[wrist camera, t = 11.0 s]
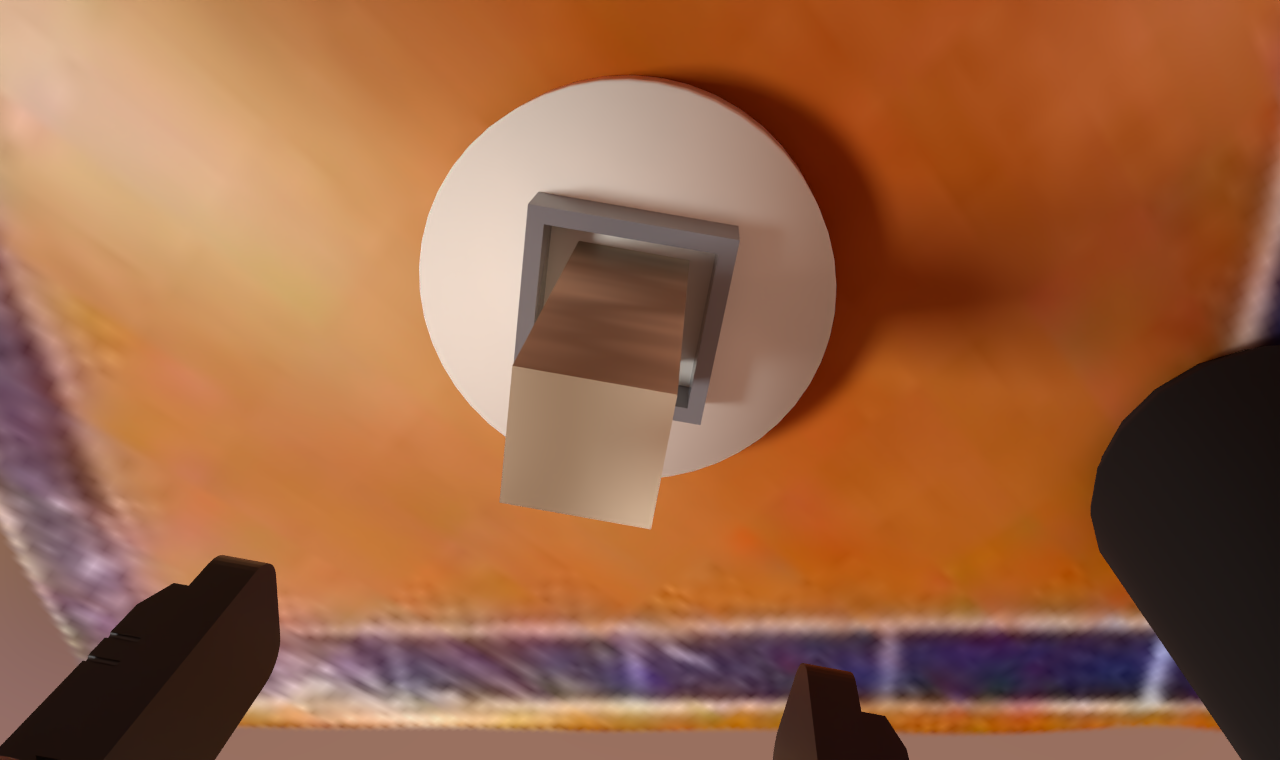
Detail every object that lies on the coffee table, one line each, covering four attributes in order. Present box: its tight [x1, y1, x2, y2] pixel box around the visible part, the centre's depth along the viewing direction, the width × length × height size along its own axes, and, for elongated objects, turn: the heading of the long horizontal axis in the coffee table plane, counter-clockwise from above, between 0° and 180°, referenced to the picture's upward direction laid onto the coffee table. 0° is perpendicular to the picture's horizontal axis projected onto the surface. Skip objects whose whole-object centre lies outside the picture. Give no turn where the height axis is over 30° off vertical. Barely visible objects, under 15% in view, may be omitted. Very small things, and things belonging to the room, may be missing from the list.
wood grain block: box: [500, 241, 689, 529], centre depth 21 cm, size 3×3×9 cm
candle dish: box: [419, 75, 837, 477], centre depth 25 cm, size 13×13×4 cm
